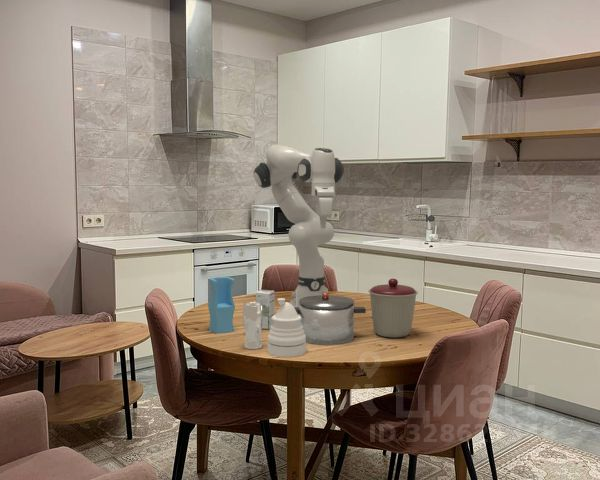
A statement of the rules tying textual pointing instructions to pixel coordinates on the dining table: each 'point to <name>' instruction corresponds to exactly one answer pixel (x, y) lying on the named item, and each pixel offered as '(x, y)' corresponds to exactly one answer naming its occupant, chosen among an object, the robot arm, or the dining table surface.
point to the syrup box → (266, 306)
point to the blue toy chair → (221, 305)
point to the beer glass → (253, 324)
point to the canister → (392, 309)
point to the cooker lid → (326, 302)
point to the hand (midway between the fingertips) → (323, 227)
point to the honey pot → (286, 332)
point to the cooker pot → (328, 324)
